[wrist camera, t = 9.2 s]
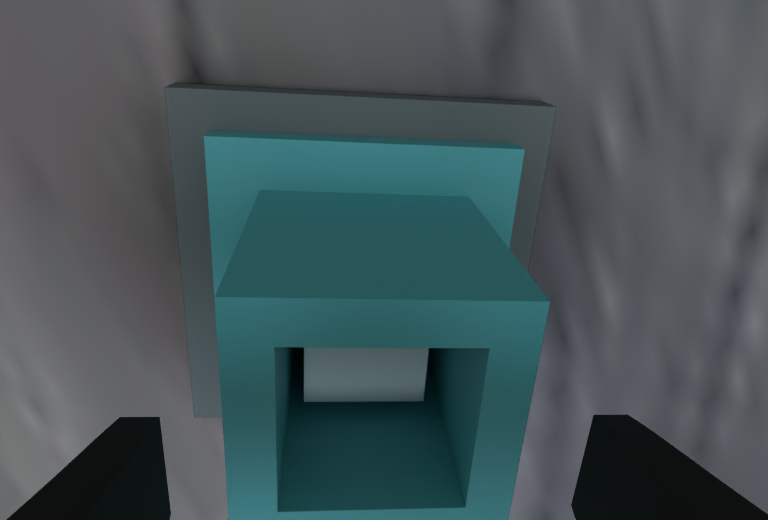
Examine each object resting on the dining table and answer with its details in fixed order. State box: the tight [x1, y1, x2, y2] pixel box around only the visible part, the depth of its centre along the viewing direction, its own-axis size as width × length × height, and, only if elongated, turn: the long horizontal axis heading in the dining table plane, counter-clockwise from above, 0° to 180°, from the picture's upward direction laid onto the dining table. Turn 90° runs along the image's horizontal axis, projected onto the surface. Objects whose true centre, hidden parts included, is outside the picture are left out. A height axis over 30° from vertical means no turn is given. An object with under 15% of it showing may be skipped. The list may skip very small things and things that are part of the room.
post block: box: [165, 83, 556, 417], centre depth 15 cm, size 10×10×5 cm
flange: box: [204, 130, 550, 520], centre depth 13 cm, size 8×8×7 cm
